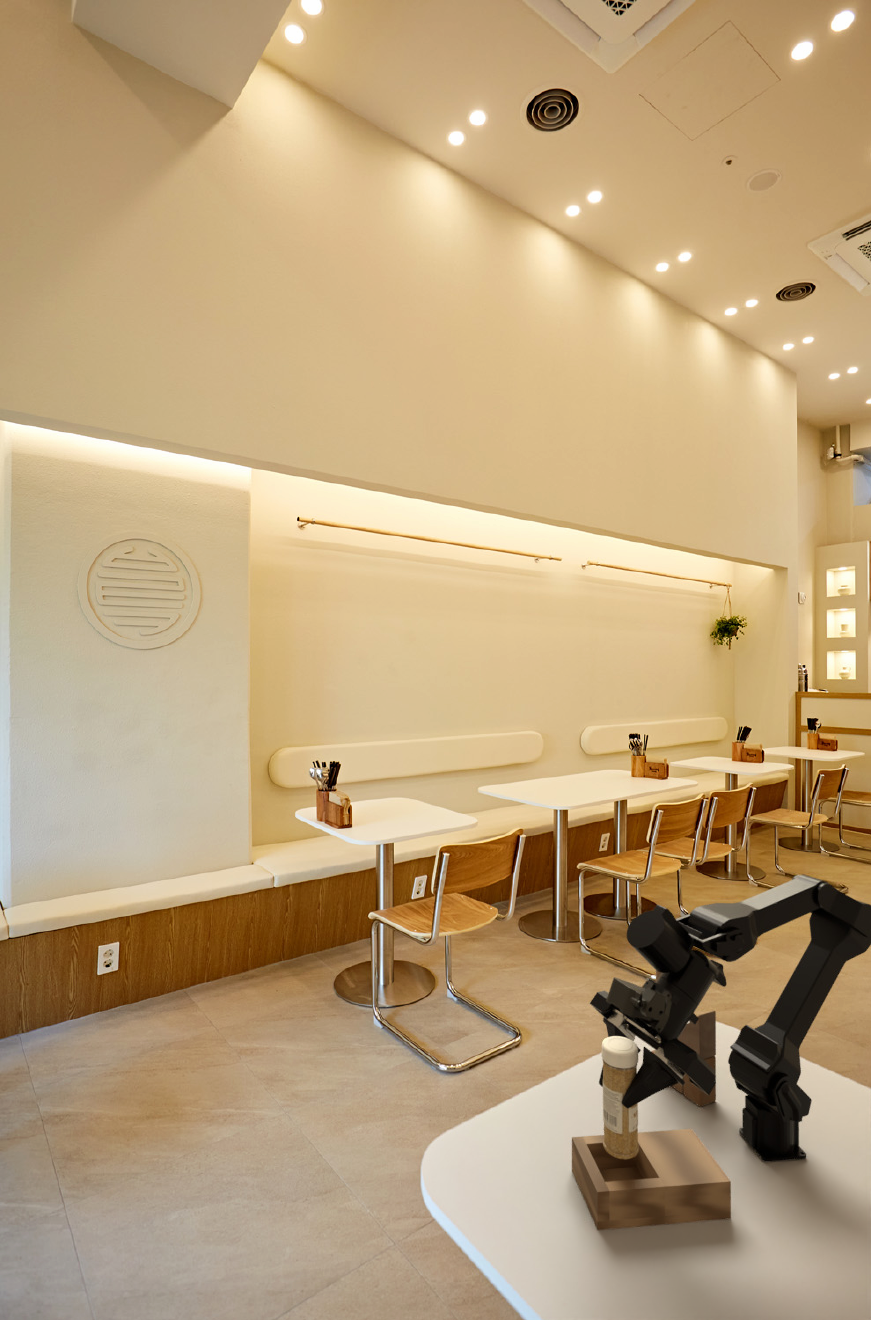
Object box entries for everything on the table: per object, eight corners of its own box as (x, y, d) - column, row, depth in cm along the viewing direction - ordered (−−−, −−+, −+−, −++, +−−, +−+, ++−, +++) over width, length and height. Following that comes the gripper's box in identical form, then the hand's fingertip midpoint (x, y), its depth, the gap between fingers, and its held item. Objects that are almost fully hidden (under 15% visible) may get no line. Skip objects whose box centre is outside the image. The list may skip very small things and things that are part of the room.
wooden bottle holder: (691, 1162, 95) (691, 1128, 95) (730, 1218, 85) (730, 1181, 85) (571, 1171, 93) (571, 1137, 93) (597, 1230, 83) (597, 1192, 83)
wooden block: (700, 1108, 107) (699, 990, 108) (650, 1072, 117) (650, 964, 117) (717, 1102, 109) (716, 986, 109) (666, 1067, 118) (666, 961, 119)
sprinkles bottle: (645, 1158, 87) (645, 1051, 87) (612, 1164, 86) (611, 1056, 86) (627, 1134, 92) (627, 1032, 92) (596, 1139, 91) (595, 1036, 91)
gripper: (599, 932, 99) (534, 1026, 95) (696, 986, 82) (622, 1104, 78) (644, 977, 102) (583, 1071, 98) (746, 1038, 85) (678, 1154, 81)
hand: (612, 1096), depth 88 cm, fingers closed on sprinkles bottle, 4 cm apart
